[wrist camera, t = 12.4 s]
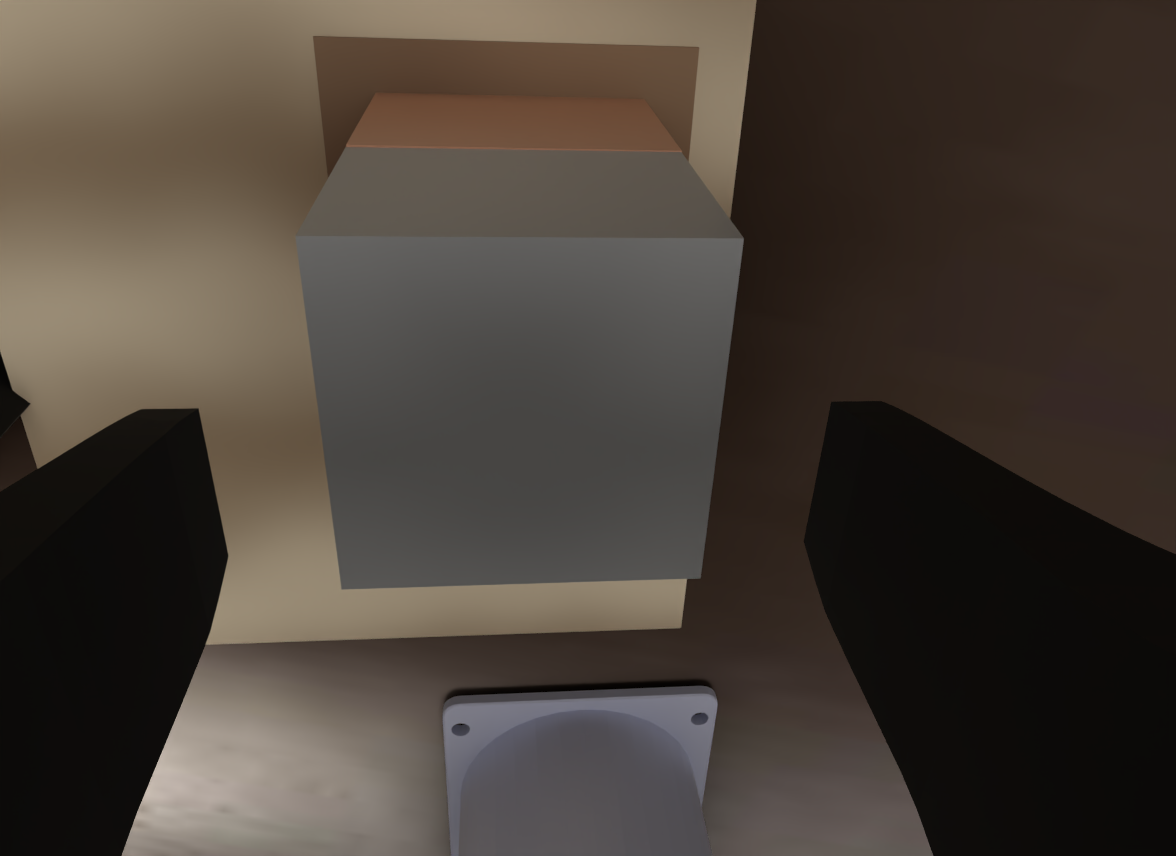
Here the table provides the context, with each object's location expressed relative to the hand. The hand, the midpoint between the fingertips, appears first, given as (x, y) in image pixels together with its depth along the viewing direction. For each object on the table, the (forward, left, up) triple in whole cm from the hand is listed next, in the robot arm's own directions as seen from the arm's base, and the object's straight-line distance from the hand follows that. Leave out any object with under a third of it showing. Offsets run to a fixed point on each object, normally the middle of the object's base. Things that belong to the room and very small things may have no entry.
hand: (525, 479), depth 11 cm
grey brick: (0, 0, -5) cm, 5 cm away
